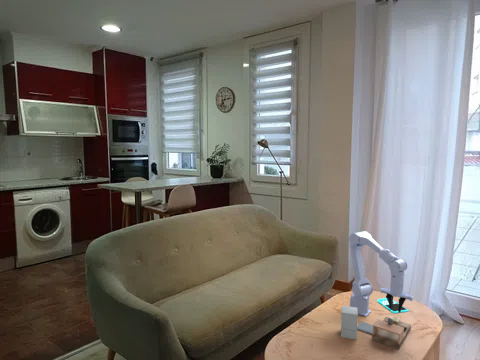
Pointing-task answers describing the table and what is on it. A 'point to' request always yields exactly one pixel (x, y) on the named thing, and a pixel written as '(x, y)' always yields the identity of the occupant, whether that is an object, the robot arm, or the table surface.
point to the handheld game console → (395, 306)
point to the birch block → (395, 320)
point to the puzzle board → (391, 335)
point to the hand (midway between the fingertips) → (395, 310)
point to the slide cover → (389, 328)
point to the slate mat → (365, 327)
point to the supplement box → (349, 322)
